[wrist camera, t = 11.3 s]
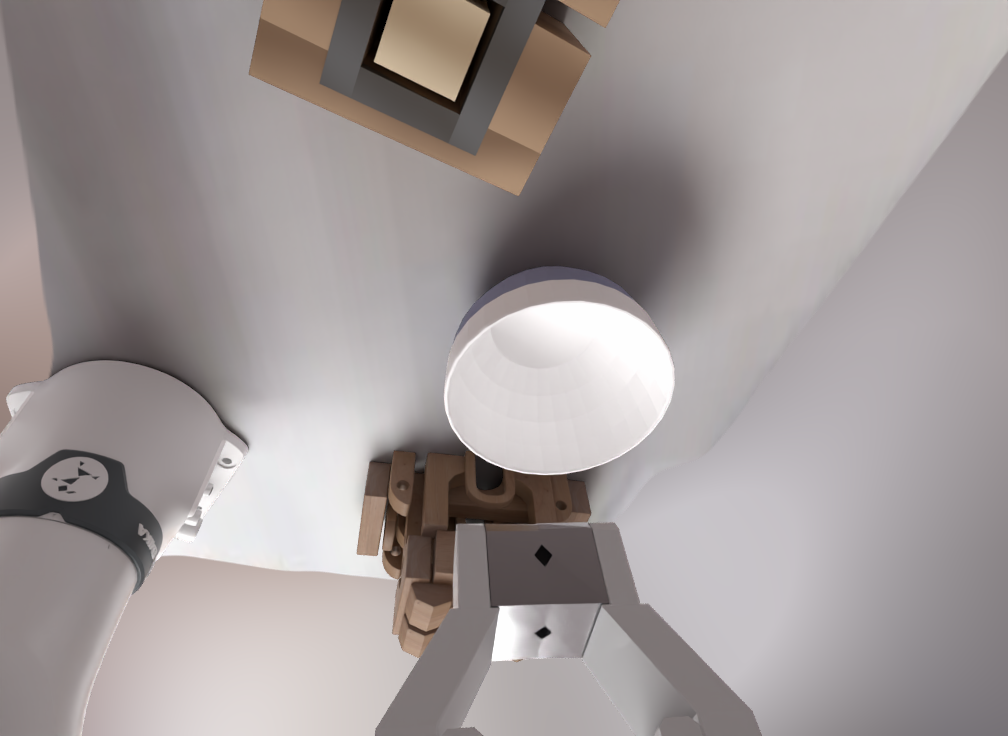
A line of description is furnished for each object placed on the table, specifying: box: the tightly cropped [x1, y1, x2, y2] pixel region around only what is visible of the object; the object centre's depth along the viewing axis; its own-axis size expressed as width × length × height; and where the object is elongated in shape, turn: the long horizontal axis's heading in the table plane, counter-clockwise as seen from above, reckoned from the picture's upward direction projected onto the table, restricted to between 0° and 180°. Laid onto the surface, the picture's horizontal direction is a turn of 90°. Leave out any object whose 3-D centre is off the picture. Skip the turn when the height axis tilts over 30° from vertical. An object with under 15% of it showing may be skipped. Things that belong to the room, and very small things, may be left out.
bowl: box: [444, 266, 675, 475], centre depth 44 cm, size 16×16×10 cm
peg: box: [374, 0, 490, 101], centre depth 30 cm, size 4×4×9 cm
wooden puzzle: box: [357, 451, 591, 662], centre depth 54 cm, size 22×15×19 cm, turn 77°
